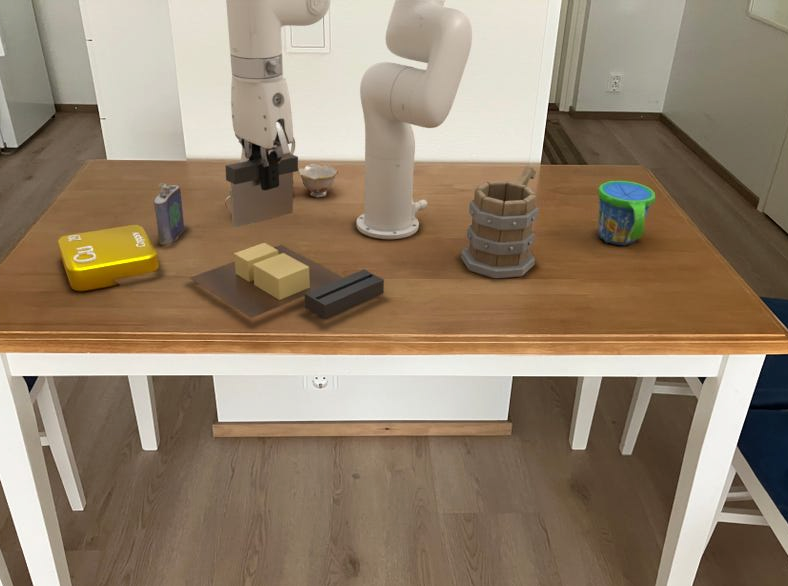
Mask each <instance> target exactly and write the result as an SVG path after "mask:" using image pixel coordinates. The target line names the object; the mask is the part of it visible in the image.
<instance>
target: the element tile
mask: <svg viewBox="0 0 788 586" xmlns="http://www.w3.org/2000/svg"><path fill="white" fill-rule="evenodd" d="M57 245H58V248H59V252H60V253H59V254H60V257H61V261H62V264H63V267H64V270H65V273H66V276H67V278H68V282H69V286H70V288H71V289H72V290H74V291H75V292H89V291H93V290H94V291H95V290H99V289H105V288H111V287H117V286H120V285H121V284H120V283H118V282H117V281H116V280H117V279H123V278H127V277H133V276H139V275H144V274H149V273H153V272H155V271H158V269H159V267H160V265H159V260H158V253H157V251H156V248H155V247H154V245H153V243H152V241H151V240H150V238H149V236H148V234H147V233H146V231H145V228H144V227H143V226H140V225H139V224H129V225H123V226H117V227H111V228H105V229H104V228H103V229H98V230H97V229H96V230H91V231H86V232H85V231H84V232H78V233H72V234H66V235H63V236H61V237H60V238H59V239H58V241H57Z"/></svg>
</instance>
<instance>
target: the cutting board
mask: <svg viewBox="0 0 788 586" xmlns="http://www.w3.org/2000/svg"><path fill="white" fill-rule="evenodd" d="M273 248H275V249H277V250H278V255H279V254H282V253H284V254H286V255H288V256H290V257H292V258H294V259H295V260H297V261H299V262H301V263H303V264H305V265H307V266H308V267H309V281H310V288H308V289H305V290H303V291H300V292H298V293H296V294H293V295H291V296H288V297H286V298H283V299H281V300H279V299H277V298H275V297H274V296H272V295H270V294H269V293H267V292H265V291H264V290H262V289H260V288H259V287H257V286H255V285H254V280H253V281H250V282H249V281H247V280H245V279H244V278H242V277H240V276H239V275H237V274H236V270H235V261H232V262H230V263H227V264H224V265H220V266H218V267H216V268H215V267H214V268H213V269H210V270H207V271H204V272H202V273H199V274H196V275H193V276H190V277H189V279H190V280H192V281H193V282H195V283H196V284H198V285H199V286H201V287H203V288H204V289H206V290H207V291H209V292H211V293H212V294H213V295H215V296H216V297H218V298H220V299H221V300H223V301H224V302H226V303H227V304H229V305H231V306H232V307H233V308H235V309H237V310H239V312H241V313H242V314H244V315H246V316H248V317H249V318H251V319H253V318H255V317H258V316H260V315H262V314H264V313H267V312H269V311H272V310H274V309H277V308H279V307H282V306H284V305H286V304H289V303H291V302H293V301H296V300H298V299H300V298H303V297H305V293H308V292H310V291H312V290H315V289H317V288H320V287H322V286H324V285H327V284H329V283H332V282H334V281H337V280H339V279H341V278H344V277H343V276H341V275H339V274H337V273H336V272H334V271H331V270H330V269H328V268H326V267H325V266H323V265H320V264H319V263H317V262H315V261H313V260H311V259H309V258H307V257H305V256H304V255H302V254H300V253H298V252H296V251H294V250H293V249H291V248H289V247H287V246H285V245H283V244H280V245H276V246H274V247H273Z"/></svg>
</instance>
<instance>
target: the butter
mask: <svg viewBox="0 0 788 586" xmlns="http://www.w3.org/2000/svg"><path fill="white" fill-rule="evenodd" d="M253 274H254V285H255V286H257V287H259V288H260V289H262V290H264V291H265V292H267V293H269V294H270V295H272V296H274V297H275V298H277V299H279V300H281V299H283V298H286V297H288V296H291V295H293V294H296V293H298V292H300V291H303V290H305V289H308V288H310V281H309V267H308V266H307V265H305V264H303V263H301V262H299V261H297V260H295V259H294V258H292V257H290V256H288V255H286V254H284V253H282V254H279V255H276V256H274V257H271V258H268V259H265V260H263V261H260V262H257V263H255V264H253Z"/></svg>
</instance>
